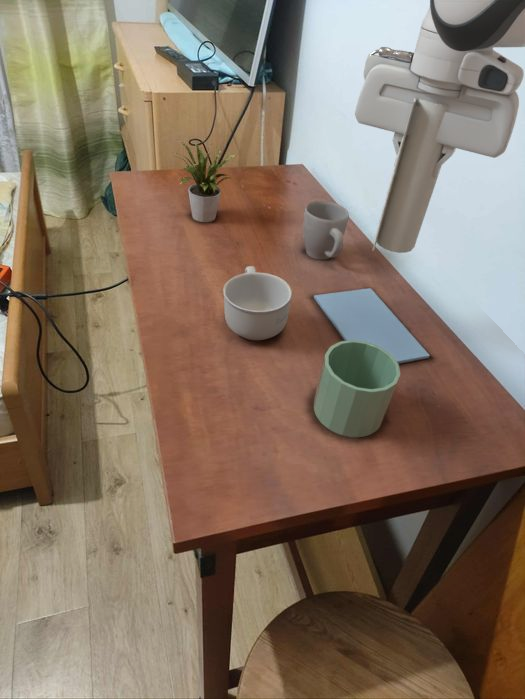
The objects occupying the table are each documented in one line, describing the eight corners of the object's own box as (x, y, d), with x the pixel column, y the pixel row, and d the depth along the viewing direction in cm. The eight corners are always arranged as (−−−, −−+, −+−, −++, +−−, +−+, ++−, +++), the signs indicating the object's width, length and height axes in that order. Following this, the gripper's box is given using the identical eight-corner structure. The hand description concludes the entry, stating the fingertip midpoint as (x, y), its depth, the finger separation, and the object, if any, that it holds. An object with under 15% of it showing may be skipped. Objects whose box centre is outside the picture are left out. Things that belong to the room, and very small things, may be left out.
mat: (428, 358, 84) (430, 355, 84) (366, 369, 80) (367, 367, 80) (369, 290, 98) (370, 287, 98) (313, 297, 94) (314, 295, 94)
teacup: (285, 352, 82) (293, 312, 76) (218, 346, 81) (220, 305, 76) (284, 302, 92) (290, 264, 87) (224, 296, 92) (227, 257, 86)
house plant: (152, 216, 111) (149, 140, 101) (189, 196, 121) (190, 125, 110) (206, 237, 107) (209, 160, 96) (240, 214, 117) (246, 142, 106)
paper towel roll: (408, 236, 82) (454, 92, 68) (418, 255, 77) (469, 105, 64) (364, 233, 81) (402, 87, 68) (371, 252, 77) (413, 100, 63)
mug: (291, 244, 109) (298, 201, 102) (329, 241, 111) (338, 199, 105) (313, 274, 100) (322, 230, 94) (353, 270, 103) (364, 227, 97)
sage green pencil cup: (391, 403, 75) (408, 357, 70) (369, 448, 68) (387, 402, 63) (329, 376, 78) (341, 331, 72) (302, 417, 71) (313, 371, 65)
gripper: (361, 46, 63) (339, 158, 72) (532, 82, 57) (485, 199, 66) (377, 40, 68) (354, 146, 77) (537, 73, 62) (492, 184, 70)
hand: (416, 171), depth 71 cm, fingers closed on paper towel roll, 3 cm apart
